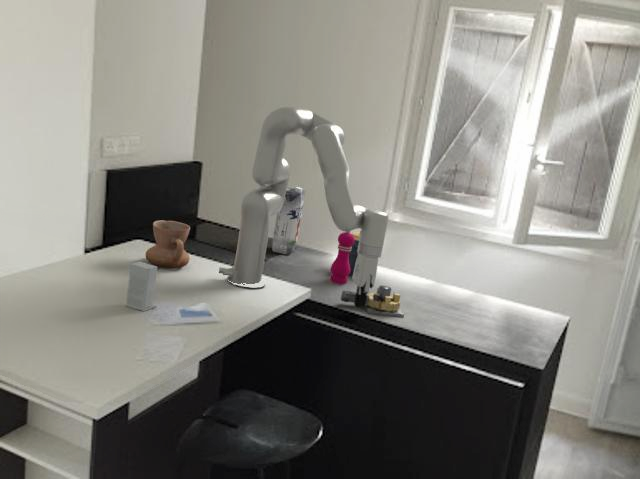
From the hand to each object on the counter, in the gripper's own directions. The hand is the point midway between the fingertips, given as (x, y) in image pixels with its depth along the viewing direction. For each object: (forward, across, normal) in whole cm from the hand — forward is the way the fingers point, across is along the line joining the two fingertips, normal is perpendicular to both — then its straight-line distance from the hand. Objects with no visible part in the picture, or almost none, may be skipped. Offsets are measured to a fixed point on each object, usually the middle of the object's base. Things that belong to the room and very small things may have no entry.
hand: (359, 305), depth 218 cm
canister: (+3, -50, +11) cm, 51 cm away
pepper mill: (+3, -35, +1) cm, 35 cm away
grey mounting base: (+3, -8, +10) cm, 13 cm away
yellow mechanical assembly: (+1, -8, +5) cm, 9 cm away
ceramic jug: (+2, -28, -60) cm, 66 cm away
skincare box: (+2, +16, -66) cm, 68 cm away
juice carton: (+2, -70, -15) cm, 71 cm away
